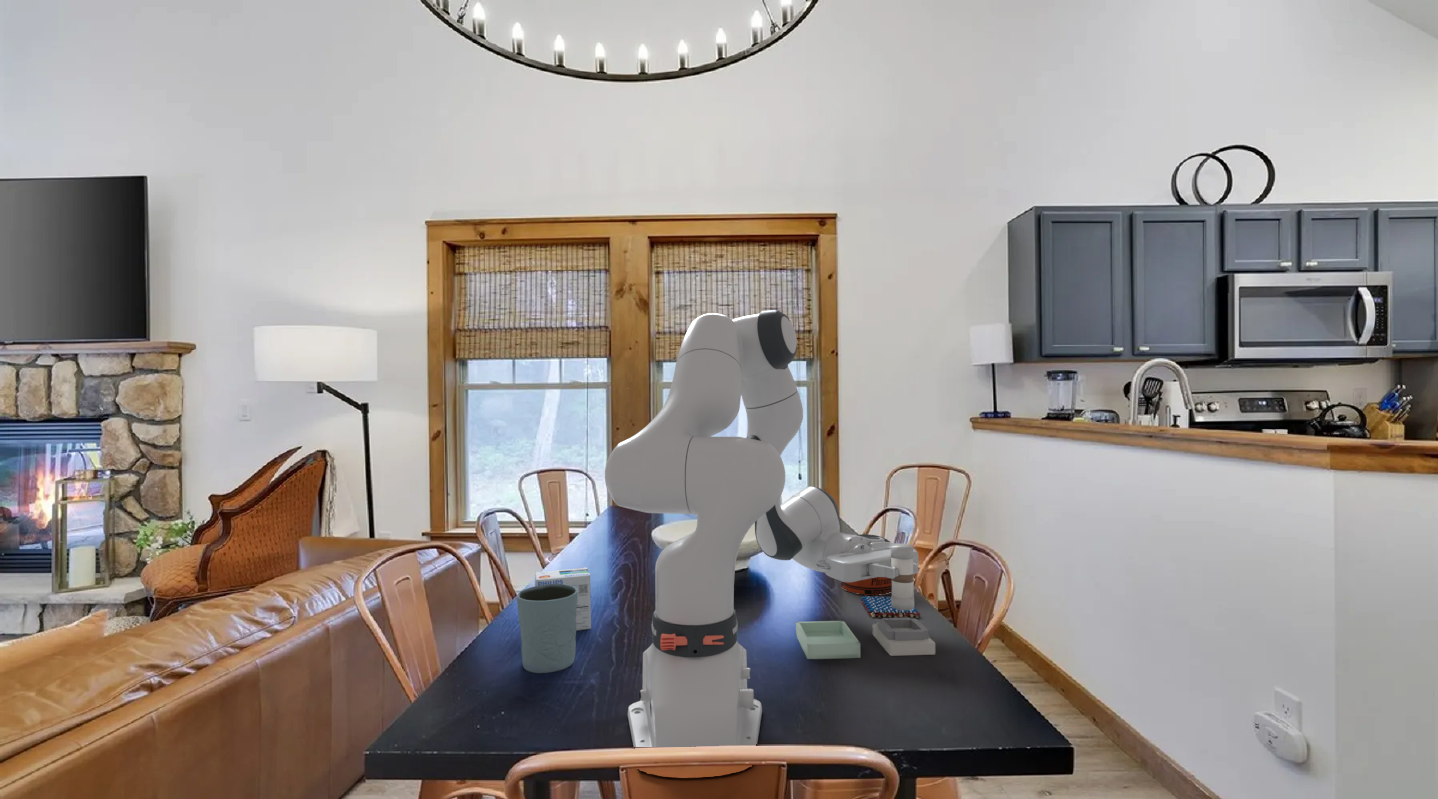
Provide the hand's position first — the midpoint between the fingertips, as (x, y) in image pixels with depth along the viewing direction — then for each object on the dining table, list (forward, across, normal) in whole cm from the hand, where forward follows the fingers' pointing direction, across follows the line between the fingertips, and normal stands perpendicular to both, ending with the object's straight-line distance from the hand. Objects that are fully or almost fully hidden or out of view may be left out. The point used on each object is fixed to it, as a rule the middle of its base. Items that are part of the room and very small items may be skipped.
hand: (906, 571), depth 109 cm
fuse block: (-1, 0, +13) cm, 13 cm away
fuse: (-1, 0, +6) cm, 7 cm away
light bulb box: (-45, -48, +14) cm, 67 cm away
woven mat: (-16, +14, +14) cm, 25 cm away
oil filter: (-29, +22, +13) cm, 39 cm away
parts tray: (-9, -12, +14) cm, 20 cm away
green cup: (-30, -56, +14) cm, 65 cm away
